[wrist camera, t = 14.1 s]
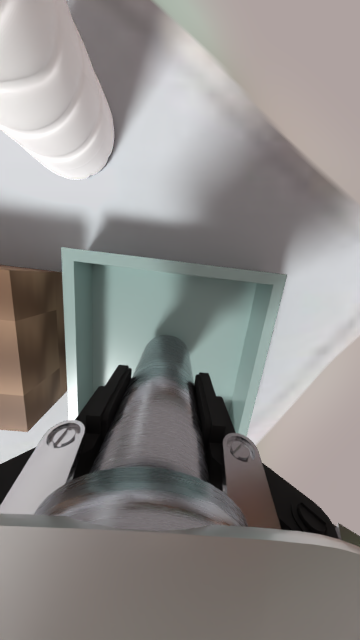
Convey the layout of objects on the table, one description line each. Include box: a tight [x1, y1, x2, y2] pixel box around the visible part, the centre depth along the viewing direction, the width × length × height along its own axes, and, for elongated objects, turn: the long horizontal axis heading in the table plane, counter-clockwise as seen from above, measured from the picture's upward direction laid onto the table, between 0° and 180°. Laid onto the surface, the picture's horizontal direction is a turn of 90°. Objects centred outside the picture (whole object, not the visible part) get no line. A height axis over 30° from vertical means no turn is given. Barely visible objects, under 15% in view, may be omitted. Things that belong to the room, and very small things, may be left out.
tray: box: [61, 247, 287, 436], centre depth 16 cm, size 16×16×4 cm
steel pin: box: [34, 335, 248, 531], centre depth 9 cm, size 6×6×12 cm
